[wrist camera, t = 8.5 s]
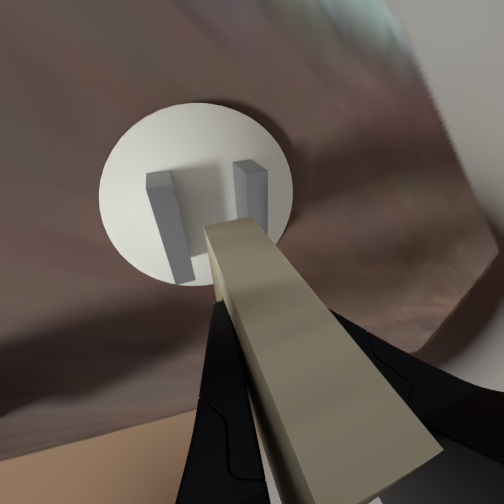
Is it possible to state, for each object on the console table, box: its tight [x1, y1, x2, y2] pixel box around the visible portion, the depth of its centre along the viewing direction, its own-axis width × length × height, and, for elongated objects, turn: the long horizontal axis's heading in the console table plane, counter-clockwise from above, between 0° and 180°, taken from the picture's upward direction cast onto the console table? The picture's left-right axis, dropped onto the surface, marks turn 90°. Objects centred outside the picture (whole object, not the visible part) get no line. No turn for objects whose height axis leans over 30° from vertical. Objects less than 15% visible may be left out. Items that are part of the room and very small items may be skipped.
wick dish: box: [99, 103, 293, 286], centre depth 14 cm, size 12×12×4 cm
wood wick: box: [203, 216, 444, 504], centre depth 7 cm, size 4×2×8 cm, turn 2°
